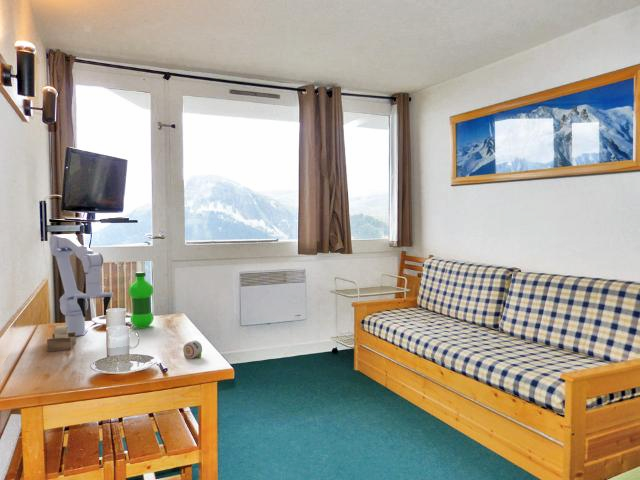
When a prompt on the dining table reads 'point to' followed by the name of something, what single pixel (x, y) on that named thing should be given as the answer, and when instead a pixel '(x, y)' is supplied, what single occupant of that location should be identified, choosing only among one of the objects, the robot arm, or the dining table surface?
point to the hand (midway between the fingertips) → (94, 315)
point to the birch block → (61, 331)
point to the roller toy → (192, 349)
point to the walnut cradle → (61, 342)
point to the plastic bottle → (141, 301)
